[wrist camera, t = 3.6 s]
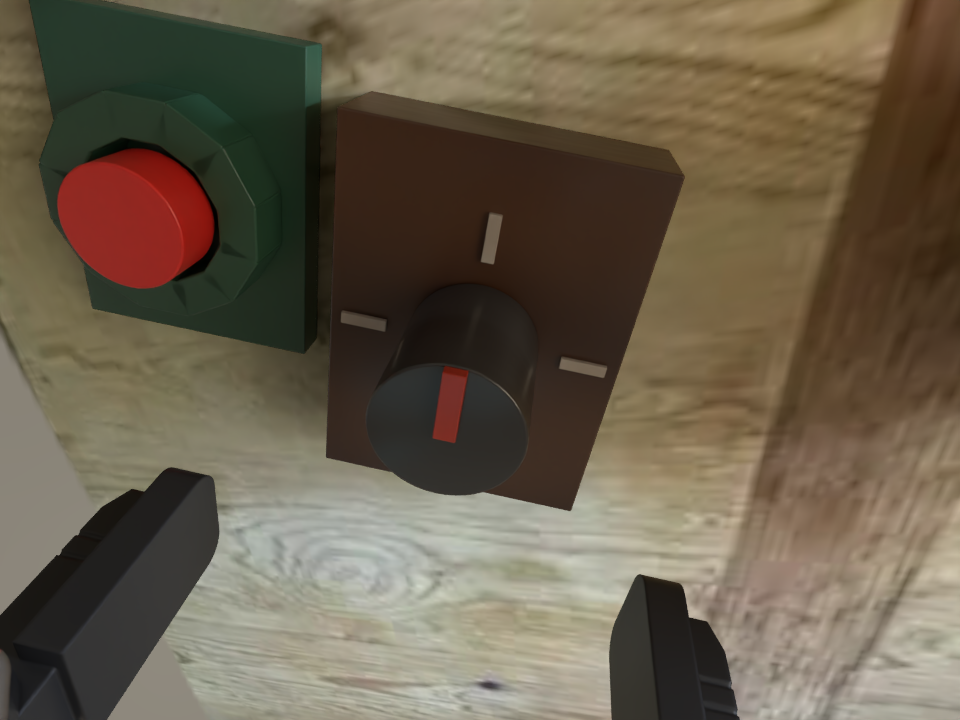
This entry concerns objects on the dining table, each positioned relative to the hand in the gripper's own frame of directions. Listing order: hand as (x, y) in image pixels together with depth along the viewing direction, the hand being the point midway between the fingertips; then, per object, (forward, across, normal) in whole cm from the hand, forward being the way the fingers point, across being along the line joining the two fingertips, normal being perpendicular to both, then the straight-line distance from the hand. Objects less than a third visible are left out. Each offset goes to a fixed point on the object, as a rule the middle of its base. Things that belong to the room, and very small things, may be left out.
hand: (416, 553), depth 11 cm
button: (+9, +10, -2) cm, 13 cm away
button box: (+11, +10, -2) cm, 15 cm away
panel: (+11, 0, 0) cm, 11 cm away
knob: (+8, 0, 0) cm, 8 cm away
